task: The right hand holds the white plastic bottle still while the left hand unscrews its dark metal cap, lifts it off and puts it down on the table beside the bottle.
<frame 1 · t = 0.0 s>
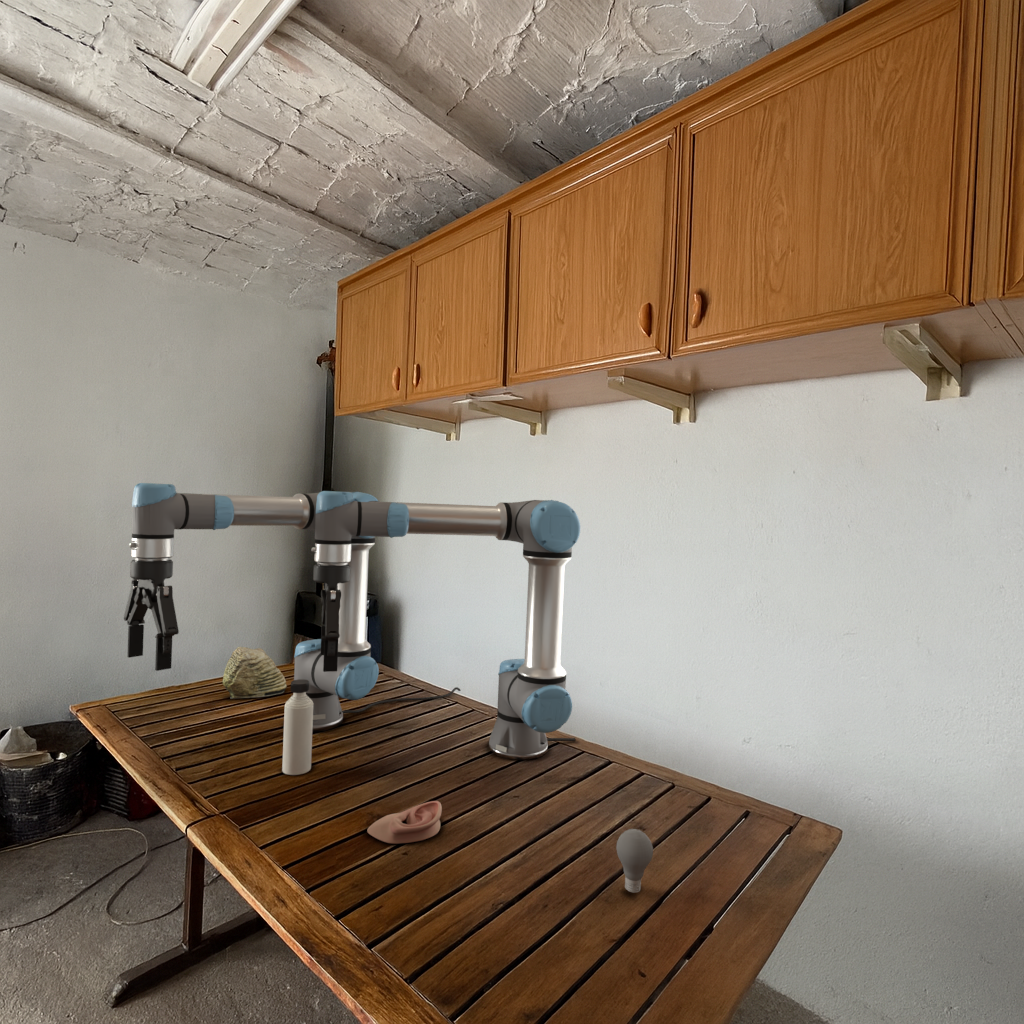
left hand: (148, 662, 129), 28 cm above the table, tool pointing down, fingers open, 13 cm apart
right hand: (328, 662, 135), 28 cm above the table, tool pointing down, fingers open, 13 cm apart
bottle: (296, 769, 147), on the table
cap: (299, 683, 146), point 20 cm above the table, screwed on, not yet turned
light bulb: (632, 891, 106), on the table
anatomical model: (404, 829, 122), on the table
fossil: (254, 694, 198), on the table
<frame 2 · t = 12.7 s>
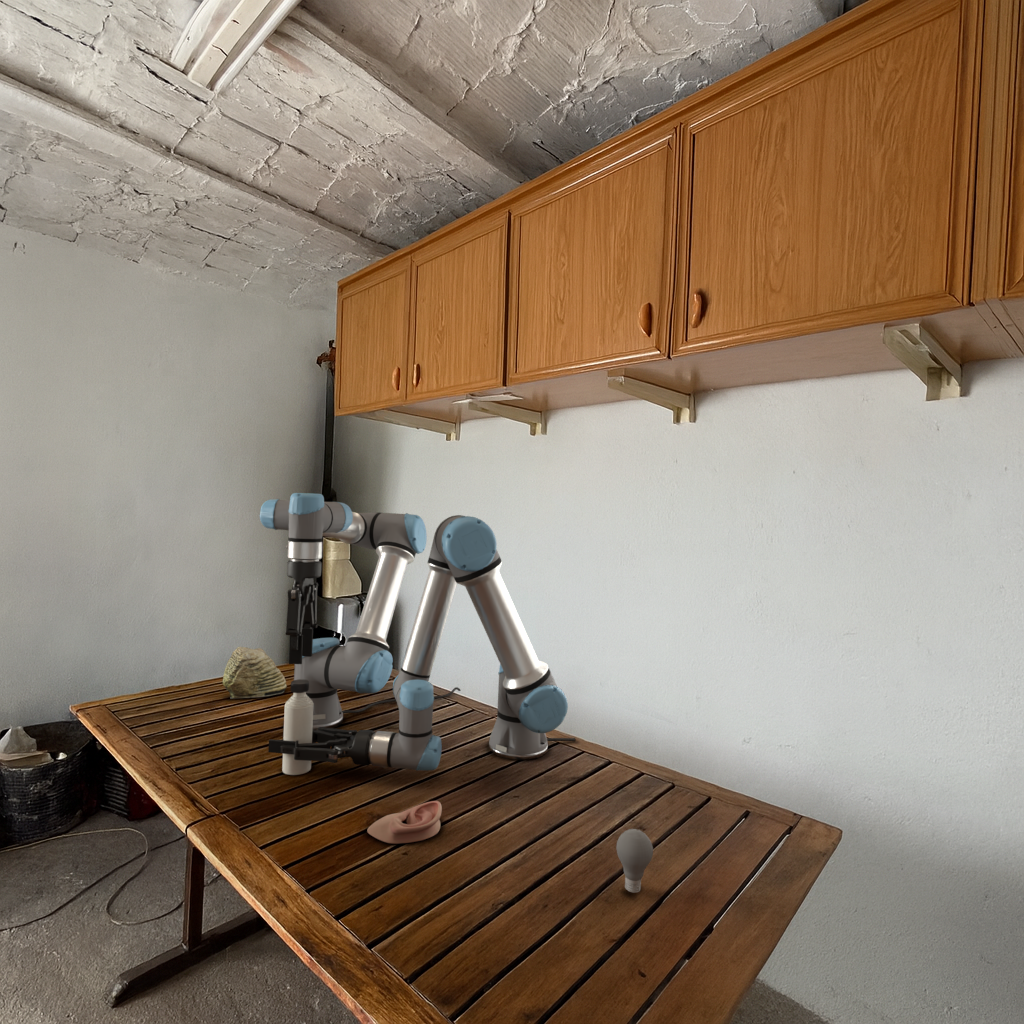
left hand: (300, 659, 146), 26 cm above the table, tool pointing down, fingers open, 6 cm apart
right hand: (276, 739, 147), 6 cm above the table, tool horizontal, fingers closed on bottle, 6 cm apart
bottle: (296, 769, 147), on the table, touching right hand
everything else where it was.
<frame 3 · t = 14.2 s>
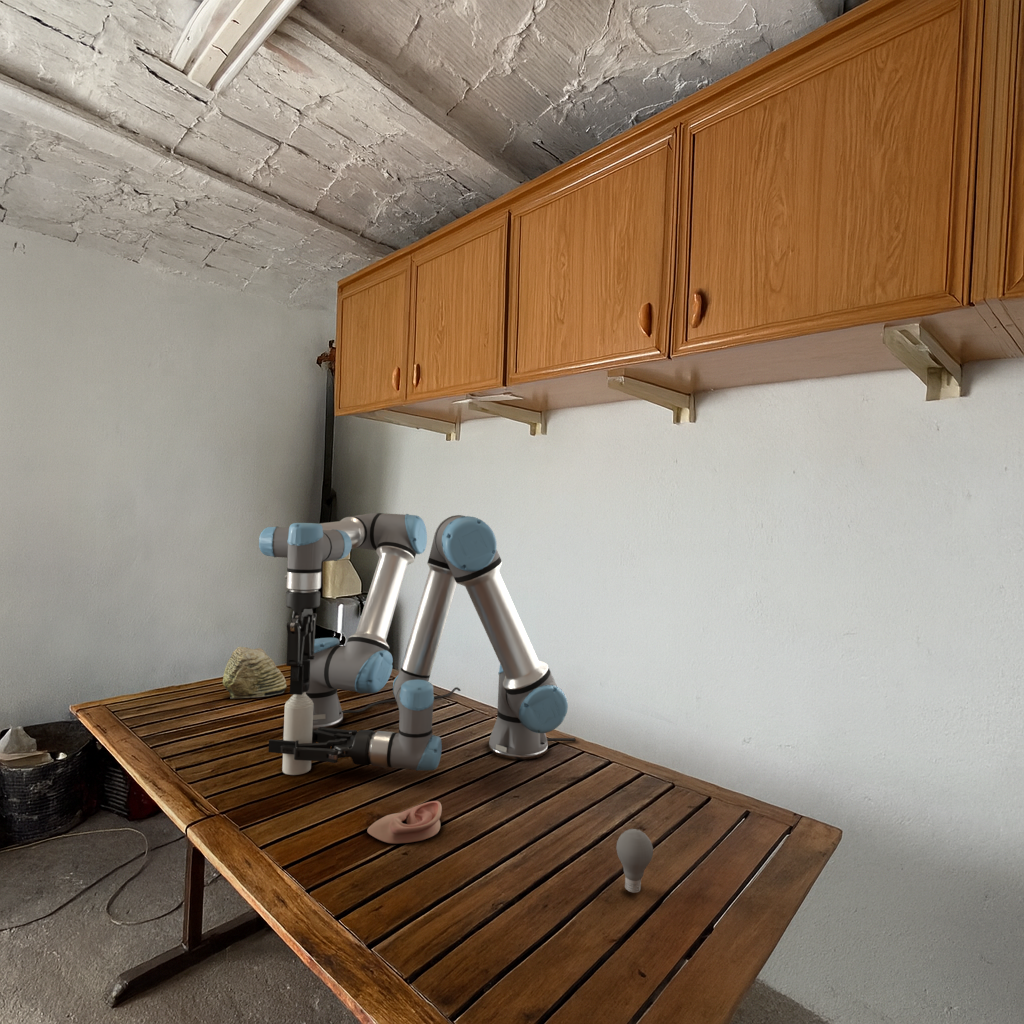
left hand: (299, 690, 146), 18 cm above the table, tool pointing down, fingers closed on cap, 4 cm apart
right hand: (276, 739, 147), 6 cm above the table, tool horizontal, fingers closed on bottle, 6 cm apart
bottle: (296, 769, 147), on the table, touching right hand
cap: (300, 683, 146), point 20 cm above the table, screwed on, not yet turned, touching left hand
everything else where it was.
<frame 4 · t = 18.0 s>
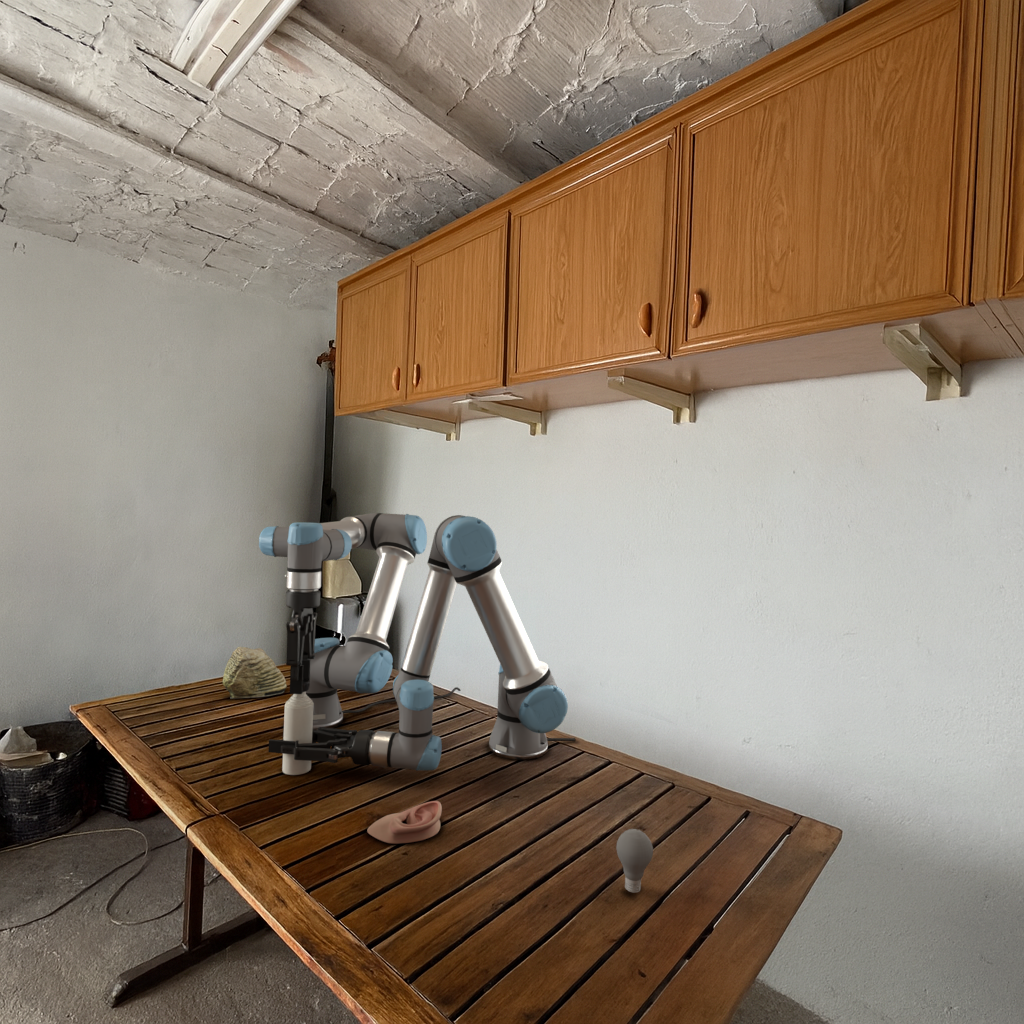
left hand: (299, 690, 146), 18 cm above the table, tool pointing down, fingers closed on cap, 4 cm apart
right hand: (276, 739, 147), 6 cm above the table, tool horizontal, fingers closed on bottle, 6 cm apart
bottle: (296, 769, 147), on the table, touching right hand
cap: (300, 682, 146), point 20 cm above the table, turned 119° so far, risen 0.1 cm, still on its thread, touching left hand
everything else where it was.
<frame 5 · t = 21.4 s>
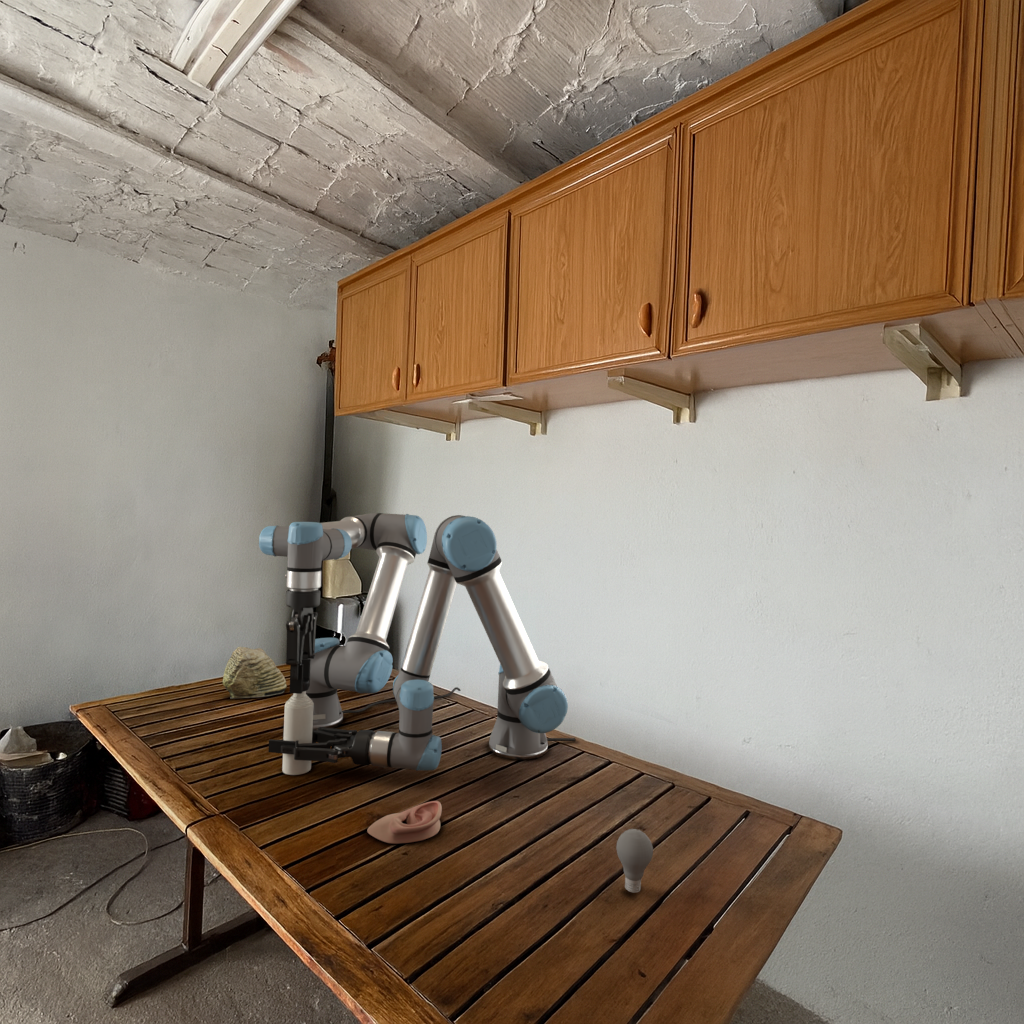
left hand: (299, 689, 146), 19 cm above the table, tool pointing down, fingers closed on cap, 4 cm apart
right hand: (276, 739, 147), 6 cm above the table, tool horizontal, fingers closed on bottle, 6 cm apart
bottle: (296, 769, 147), on the table, touching right hand
cap: (300, 681, 146), point 20 cm above the table, turned 238° so far, risen 0.2 cm, still on its thread, touching left hand
everything else where it was.
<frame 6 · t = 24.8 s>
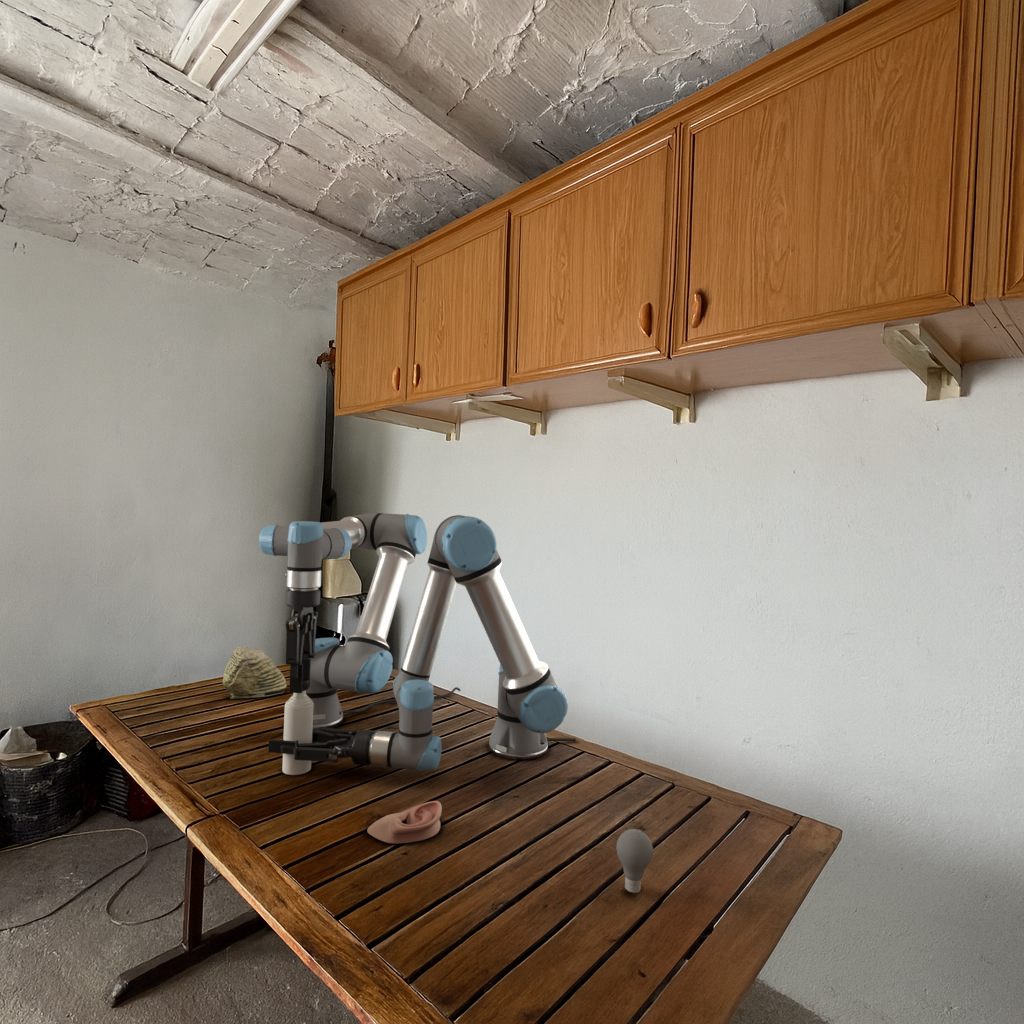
left hand: (299, 689, 146), 19 cm above the table, tool pointing down, fingers closed on cap, 4 cm apart
right hand: (276, 739, 147), 6 cm above the table, tool horizontal, fingers closed on bottle, 6 cm apart
bottle: (296, 769, 147), on the table, touching right hand
cap: (300, 681, 146), point 20 cm above the table, turned 358° so far, risen 0.4 cm, still on its thread, touching left hand
everything else where it was.
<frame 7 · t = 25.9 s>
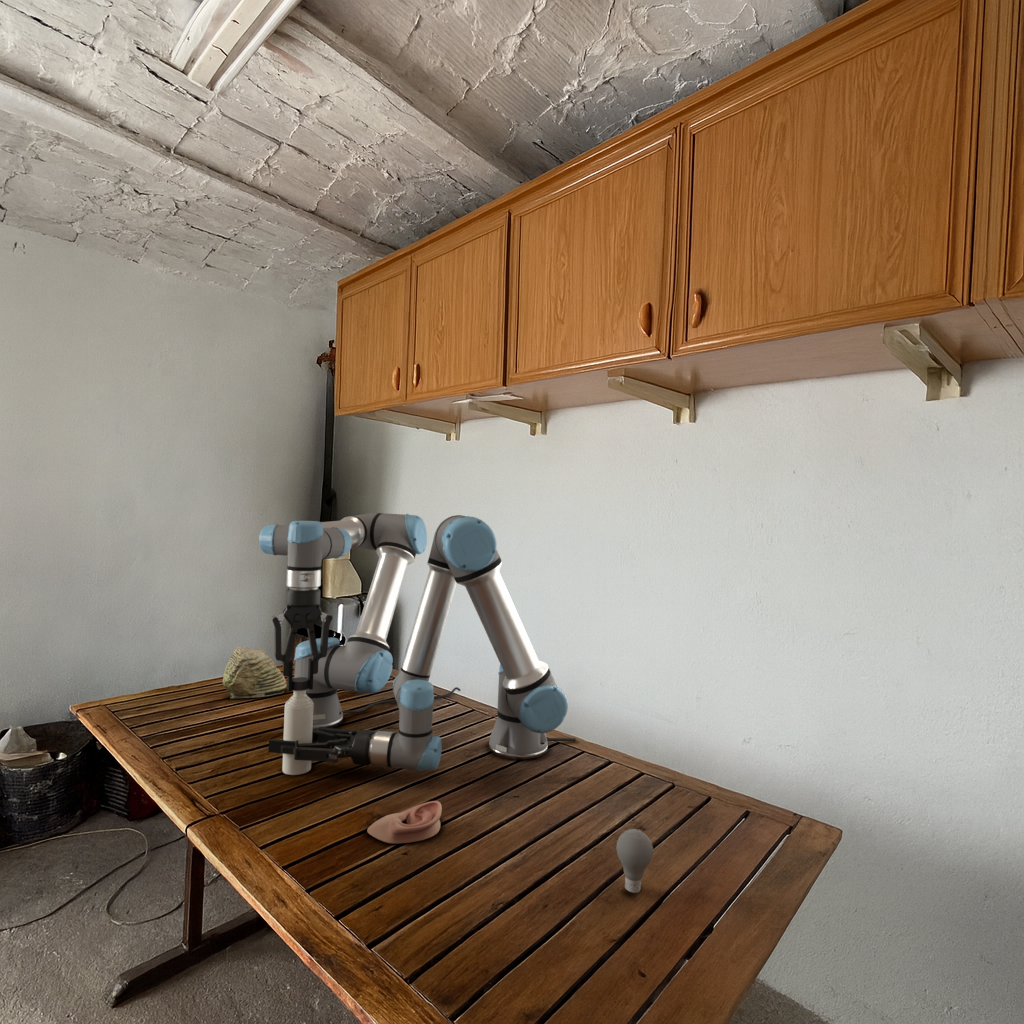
left hand: (299, 688, 146), 19 cm above the table, tool pointing down, fingers closed on cap, 4 cm apart
right hand: (276, 739, 147), 6 cm above the table, tool horizontal, fingers closed on bottle, 6 cm apart
bottle: (296, 769, 147), on the table, touching right hand
cap: (300, 680, 146), point 21 cm above the table, off its thread, touching left hand
everything else where it was.
when the left hand's fingers open (1 cm above the table, at t = 31.5 s): cap stays where it is, point 2 cm above the table.
when the right hand's fingers open (6 cm above the table, at t = 32.8 s): bottle stays where it is, on the table.
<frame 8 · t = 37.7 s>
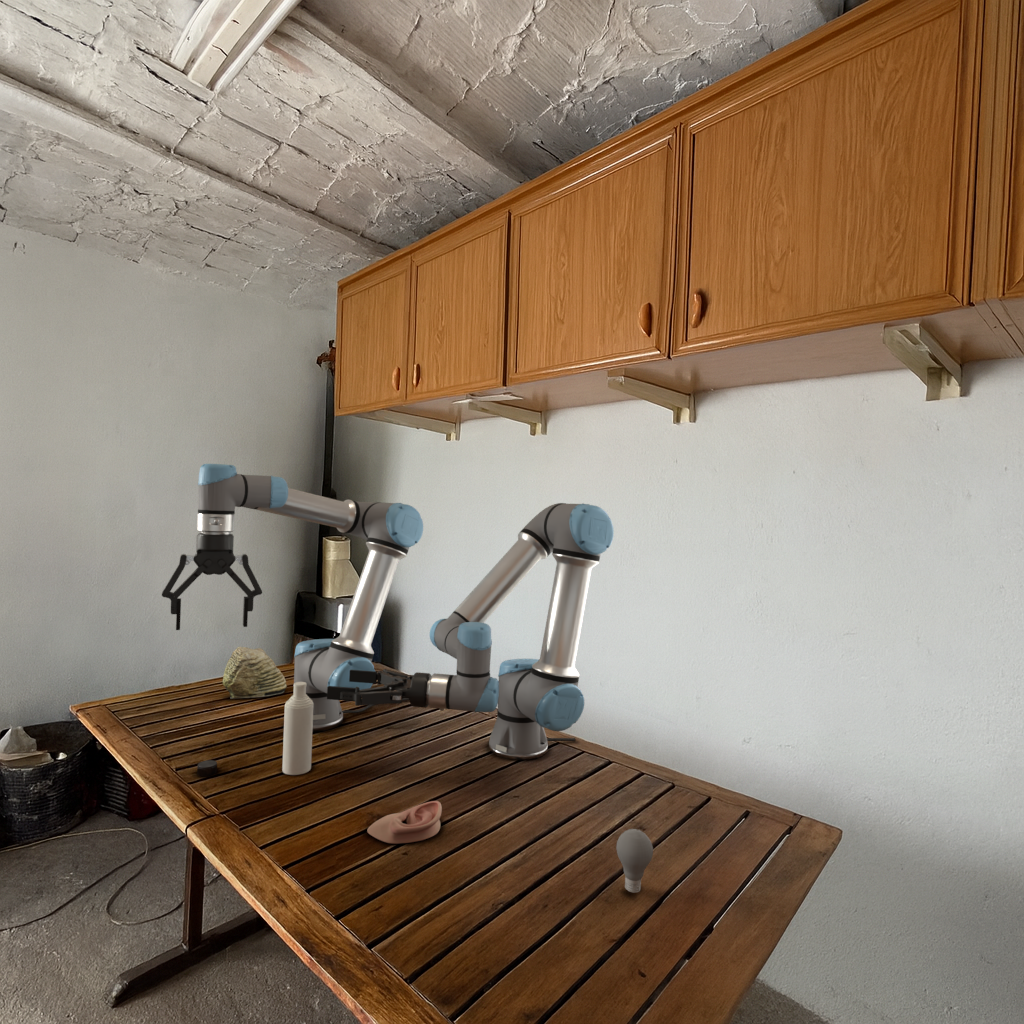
left hand: (212, 627, 142), 33 cm above the table, tool pointing down, fingers open, 13 cm apart
right hand: (339, 683, 145), 21 cm above the table, tool horizontal, fingers open, 13 cm apart
bottle: (296, 769, 147), on the table
cap: (207, 765, 143), point 2 cm above the table, off its thread
everything else where it was.
at the end: cap came off its thread; cap point 1.7 cm above the table; the left hand is holding nothing; the right hand is holding nothing; bottle tilted 0°; bottle moved 0.0 cm from its start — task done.
